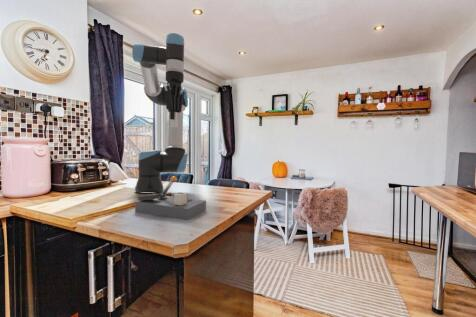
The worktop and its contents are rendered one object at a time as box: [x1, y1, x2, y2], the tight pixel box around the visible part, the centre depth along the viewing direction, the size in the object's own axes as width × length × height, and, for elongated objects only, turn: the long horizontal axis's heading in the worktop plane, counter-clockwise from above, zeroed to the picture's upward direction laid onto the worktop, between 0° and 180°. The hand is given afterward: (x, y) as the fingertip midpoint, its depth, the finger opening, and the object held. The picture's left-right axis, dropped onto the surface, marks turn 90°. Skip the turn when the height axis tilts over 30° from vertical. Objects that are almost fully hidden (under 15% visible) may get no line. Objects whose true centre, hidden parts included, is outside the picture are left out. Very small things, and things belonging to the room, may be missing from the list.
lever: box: [160, 175, 178, 198], centre depth 99 cm, size 3×3×11 cm
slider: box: [173, 191, 188, 205], centre depth 92 cm, size 4×3×4 cm
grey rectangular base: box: [134, 195, 207, 221], centre depth 96 cm, size 14×24×6 cm, turn 70°
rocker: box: [137, 192, 162, 201], centre depth 96 cm, size 5×7×2 cm
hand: (173, 127), depth 104 cm, fingers closed
